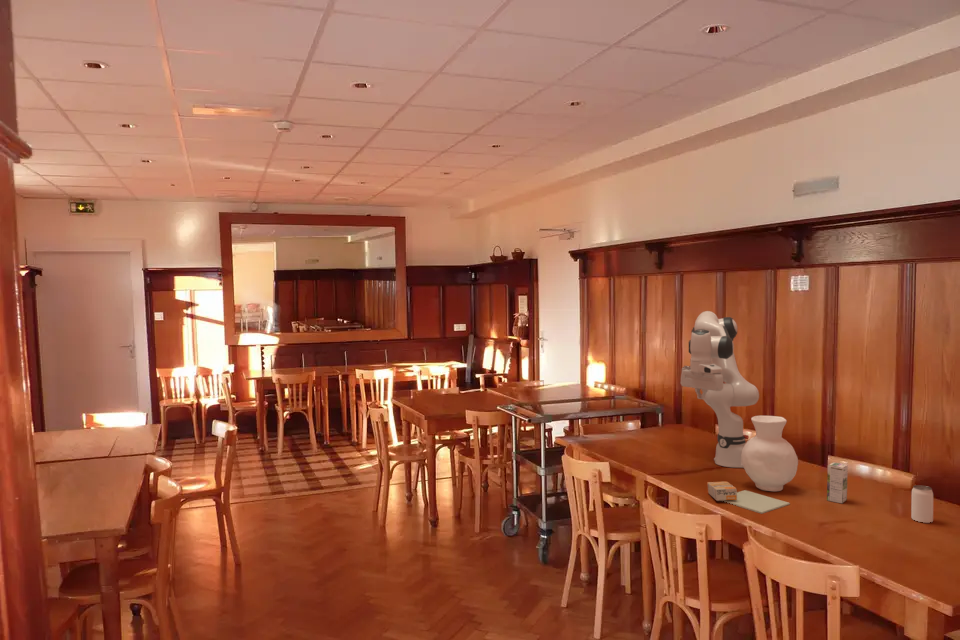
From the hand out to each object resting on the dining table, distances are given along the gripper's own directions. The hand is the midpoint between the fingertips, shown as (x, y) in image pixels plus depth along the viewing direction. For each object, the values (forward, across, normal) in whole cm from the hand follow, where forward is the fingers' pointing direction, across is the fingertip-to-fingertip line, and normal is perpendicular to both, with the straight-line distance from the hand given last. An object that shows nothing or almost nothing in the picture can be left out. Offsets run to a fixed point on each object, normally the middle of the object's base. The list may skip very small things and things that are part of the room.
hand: (701, 398), depth 281 cm
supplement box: (+35, +12, -6) cm, 37 cm away
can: (+37, +75, +27) cm, 88 cm away
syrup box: (+37, +46, +24) cm, 64 cm away
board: (+37, +28, -4) cm, 47 cm away
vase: (+37, +21, +17) cm, 46 cm away
